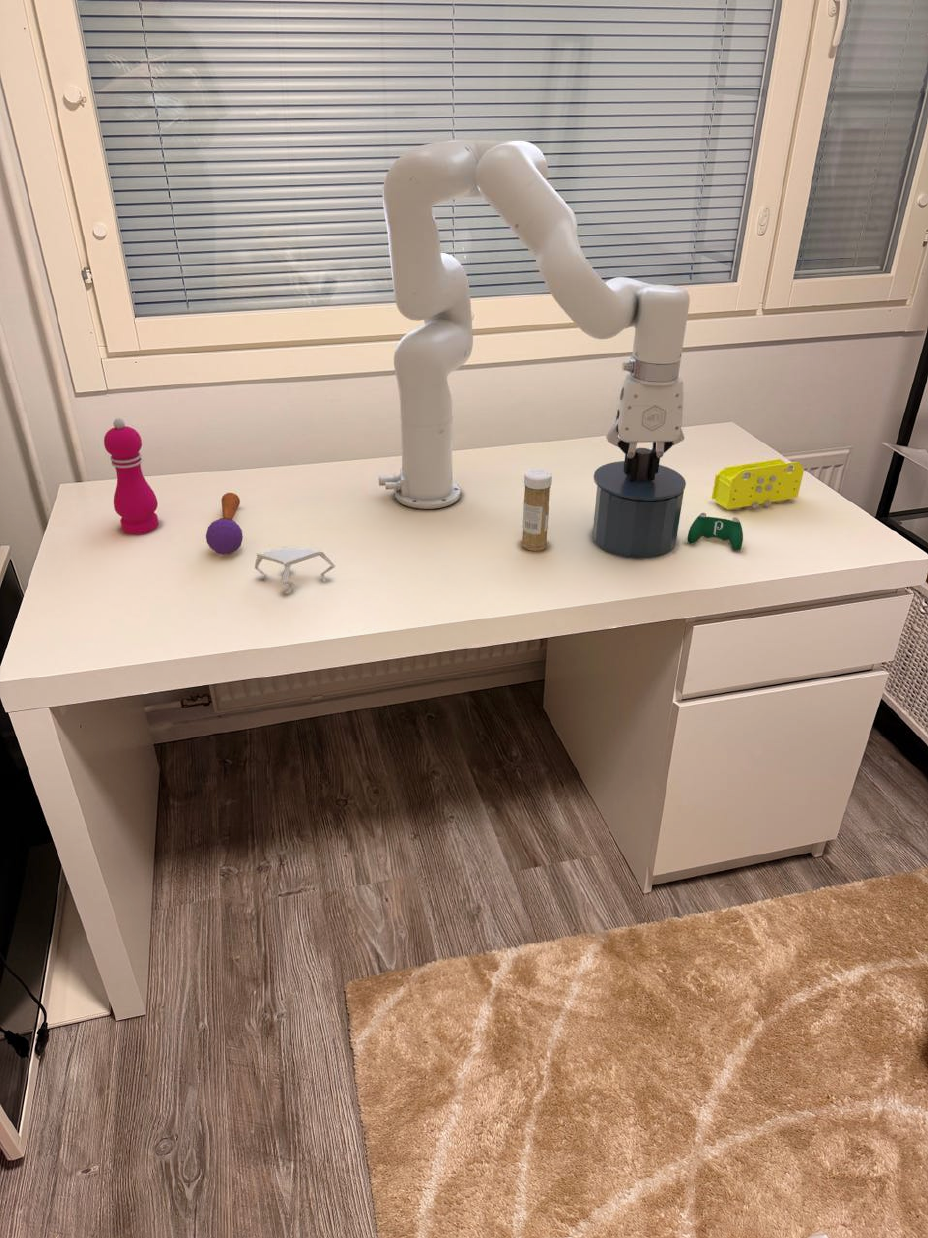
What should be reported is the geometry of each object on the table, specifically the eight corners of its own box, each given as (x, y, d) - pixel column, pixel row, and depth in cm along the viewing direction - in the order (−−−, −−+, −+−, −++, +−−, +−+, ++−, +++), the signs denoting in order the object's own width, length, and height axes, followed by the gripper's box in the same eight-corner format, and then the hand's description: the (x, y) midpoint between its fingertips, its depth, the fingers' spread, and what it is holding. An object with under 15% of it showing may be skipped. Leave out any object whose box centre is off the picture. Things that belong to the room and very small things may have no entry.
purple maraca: (248, 487, 162) (242, 528, 145) (246, 517, 165) (240, 561, 147) (214, 483, 161) (205, 524, 143) (213, 514, 163) (203, 558, 146)
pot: (603, 560, 148) (609, 503, 143) (584, 522, 161) (589, 468, 155) (686, 557, 150) (695, 500, 144) (661, 519, 162) (669, 465, 156)
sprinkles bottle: (552, 545, 153) (557, 473, 145) (534, 554, 150) (539, 481, 143) (533, 537, 155) (537, 465, 148) (515, 545, 153) (518, 472, 145)
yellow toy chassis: (727, 514, 164) (735, 472, 159) (709, 502, 168) (717, 461, 164) (798, 502, 168) (807, 461, 164) (779, 490, 173) (788, 450, 168)
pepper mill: (170, 522, 159) (150, 415, 148) (142, 539, 153) (119, 428, 143) (139, 514, 161) (117, 408, 151) (110, 530, 156) (85, 421, 145)
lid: (604, 505, 142) (609, 470, 139) (584, 467, 155) (587, 434, 152) (697, 502, 144) (703, 468, 141) (669, 465, 157) (674, 432, 153)
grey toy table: (264, 600, 136) (261, 573, 134) (255, 575, 143) (251, 548, 140) (340, 587, 140) (338, 559, 137) (327, 563, 147) (325, 536, 144)
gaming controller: (739, 556, 154) (745, 524, 155) (741, 549, 150) (747, 516, 151) (686, 547, 156) (692, 516, 157) (686, 540, 153) (693, 508, 154)
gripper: (609, 377, 135) (597, 487, 145) (712, 375, 137) (693, 485, 147) (598, 362, 141) (587, 469, 151) (697, 361, 143) (679, 467, 153)
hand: (639, 476), depth 149 cm, fingers closed on lid, 2 cm apart
